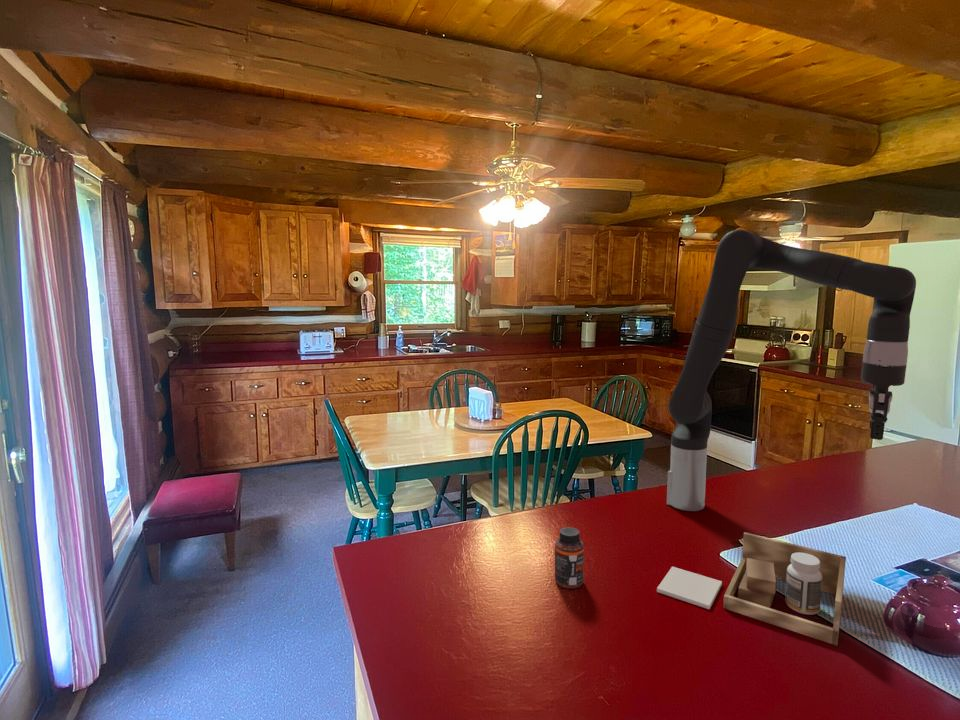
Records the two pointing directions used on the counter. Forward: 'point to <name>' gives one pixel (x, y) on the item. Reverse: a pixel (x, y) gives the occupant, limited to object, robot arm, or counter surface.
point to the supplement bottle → (569, 559)
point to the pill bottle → (804, 584)
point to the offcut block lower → (755, 594)
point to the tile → (690, 587)
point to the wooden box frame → (780, 557)
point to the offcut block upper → (760, 576)
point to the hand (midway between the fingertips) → (875, 434)
